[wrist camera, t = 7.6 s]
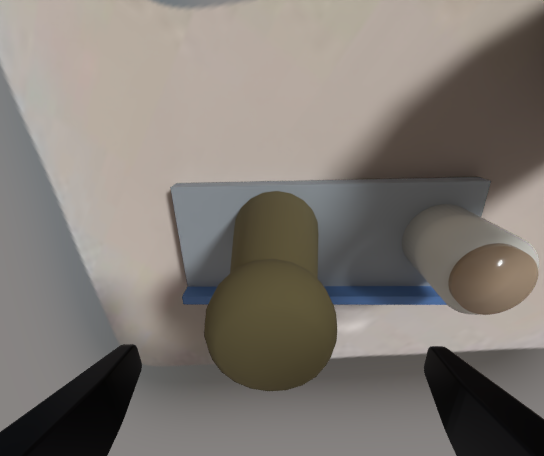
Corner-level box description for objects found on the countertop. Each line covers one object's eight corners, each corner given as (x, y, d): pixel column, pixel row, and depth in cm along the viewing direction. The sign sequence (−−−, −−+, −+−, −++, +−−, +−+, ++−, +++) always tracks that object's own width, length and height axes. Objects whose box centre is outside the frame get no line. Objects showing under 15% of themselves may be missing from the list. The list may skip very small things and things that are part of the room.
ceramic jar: (484, 203, 18) (565, 238, 13) (466, 268, 20) (530, 321, 15) (407, 204, 18) (456, 239, 13) (397, 269, 20) (436, 321, 15)
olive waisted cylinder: (307, 180, 18) (338, 264, 8) (327, 258, 20) (371, 403, 10) (221, 204, 19) (150, 309, 9) (249, 276, 21) (218, 428, 11)
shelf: (478, 177, 19) (506, 185, 16) (450, 284, 22) (470, 304, 20) (176, 183, 20) (162, 192, 17) (193, 285, 23) (183, 304, 21)
